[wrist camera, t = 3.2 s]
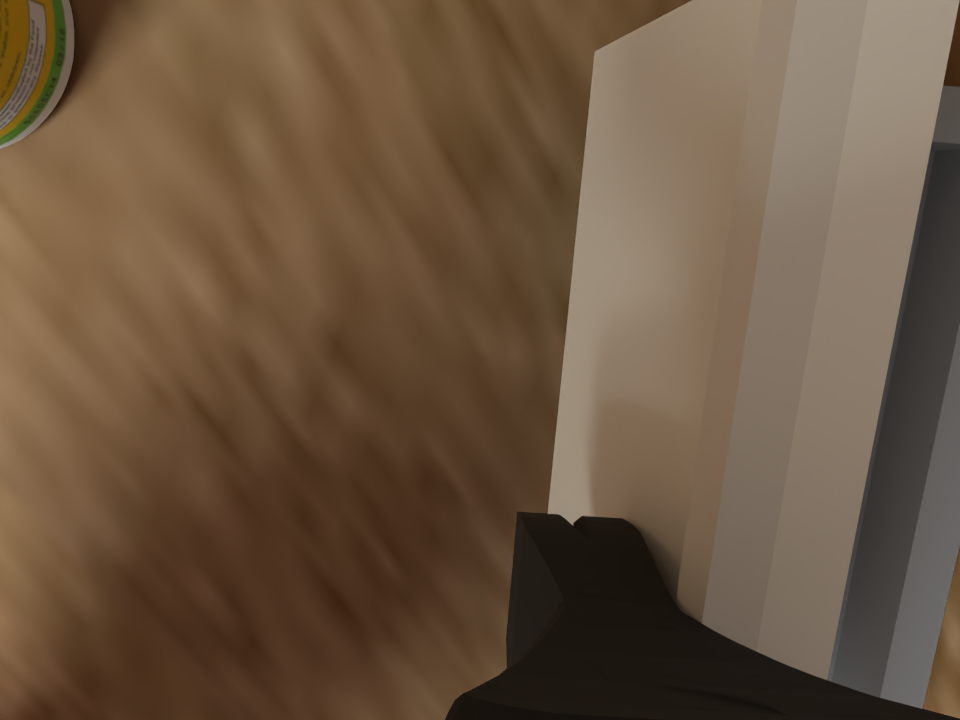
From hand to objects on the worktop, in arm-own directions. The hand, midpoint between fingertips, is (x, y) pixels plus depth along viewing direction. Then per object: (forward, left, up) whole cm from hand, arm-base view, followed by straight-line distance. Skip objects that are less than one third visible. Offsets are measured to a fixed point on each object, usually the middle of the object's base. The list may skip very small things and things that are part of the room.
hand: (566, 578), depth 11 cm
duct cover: (-2, -2, 0) cm, 3 cm away
